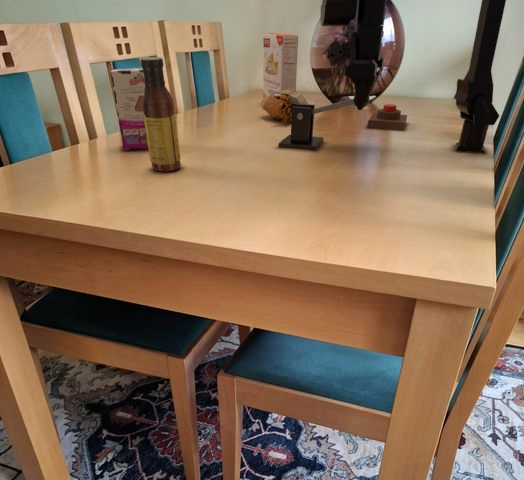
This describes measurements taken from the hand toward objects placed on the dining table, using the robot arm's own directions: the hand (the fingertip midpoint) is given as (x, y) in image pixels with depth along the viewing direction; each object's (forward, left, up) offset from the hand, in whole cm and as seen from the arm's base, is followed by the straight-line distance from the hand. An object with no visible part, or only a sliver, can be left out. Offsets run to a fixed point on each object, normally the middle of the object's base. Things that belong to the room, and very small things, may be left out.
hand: (360, 108), depth 106 cm
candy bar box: (-15, +49, -9) cm, 52 cm away
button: (+32, -4, -5) cm, 33 cm away
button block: (+32, -4, -9) cm, 33 cm away
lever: (0, +6, -2) cm, 6 cm away
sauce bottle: (-30, +36, -9) cm, 47 cm away
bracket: (0, +14, -9) cm, 16 cm away
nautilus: (+28, +27, -9) cm, 40 cm away
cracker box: (+52, +35, -9) cm, 63 cm away
